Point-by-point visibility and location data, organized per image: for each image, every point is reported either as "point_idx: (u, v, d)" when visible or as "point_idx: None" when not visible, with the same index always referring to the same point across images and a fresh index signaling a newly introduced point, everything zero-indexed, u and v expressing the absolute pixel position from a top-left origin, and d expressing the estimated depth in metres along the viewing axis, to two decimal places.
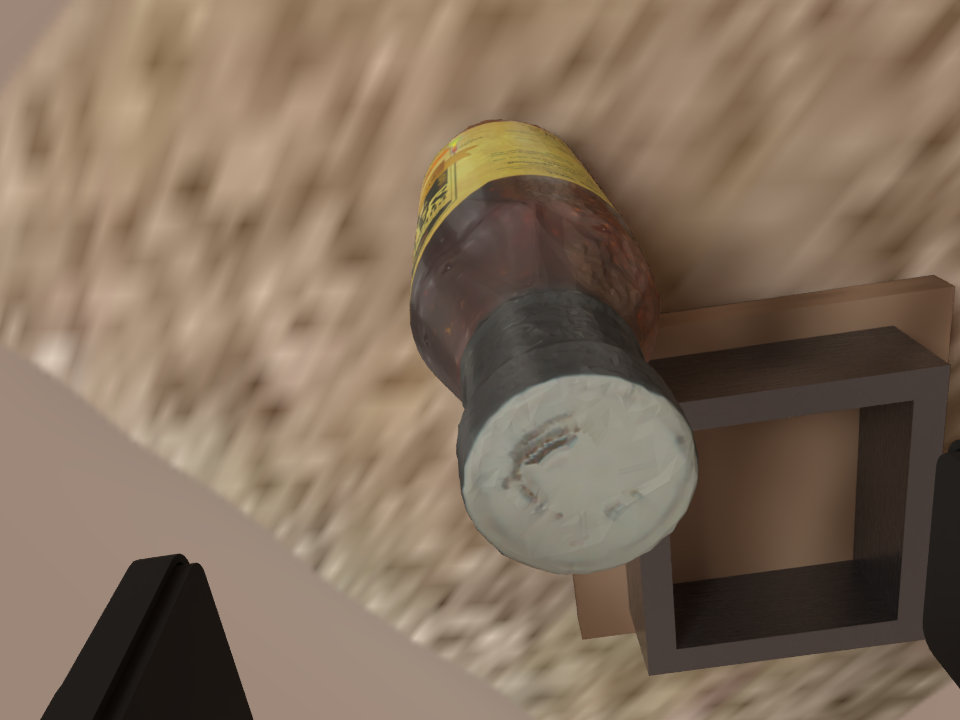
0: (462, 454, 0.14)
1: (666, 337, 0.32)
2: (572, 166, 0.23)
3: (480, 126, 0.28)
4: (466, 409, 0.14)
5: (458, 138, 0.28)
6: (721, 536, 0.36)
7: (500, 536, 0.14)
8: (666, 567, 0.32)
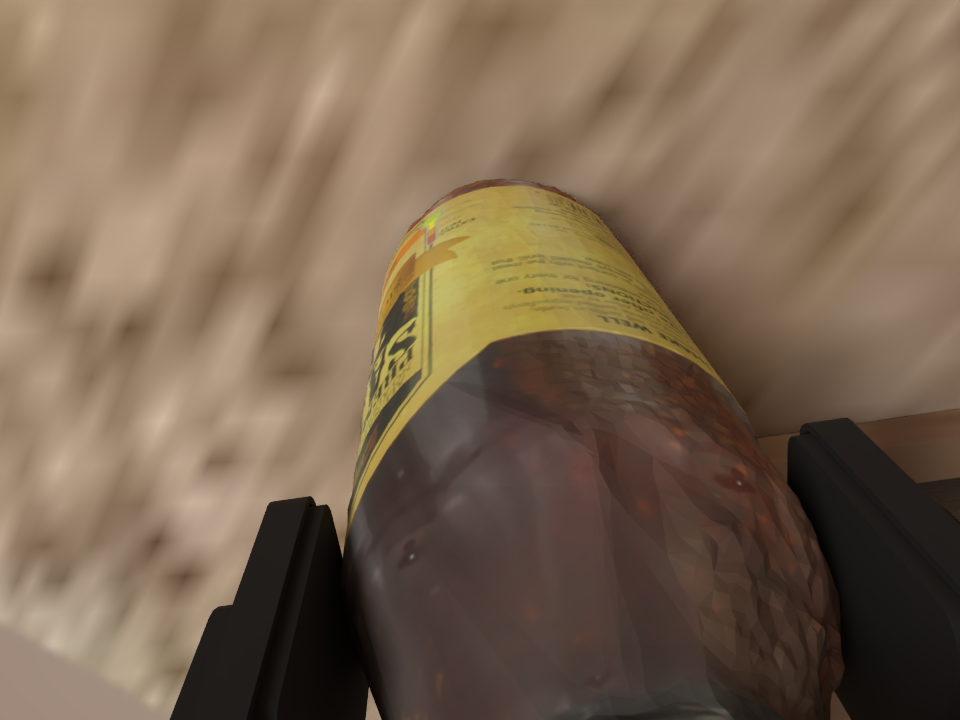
0: None
1: None
2: (631, 285, 0.14)
3: (471, 194, 0.18)
4: None
5: (438, 213, 0.18)
6: None
7: None
8: None
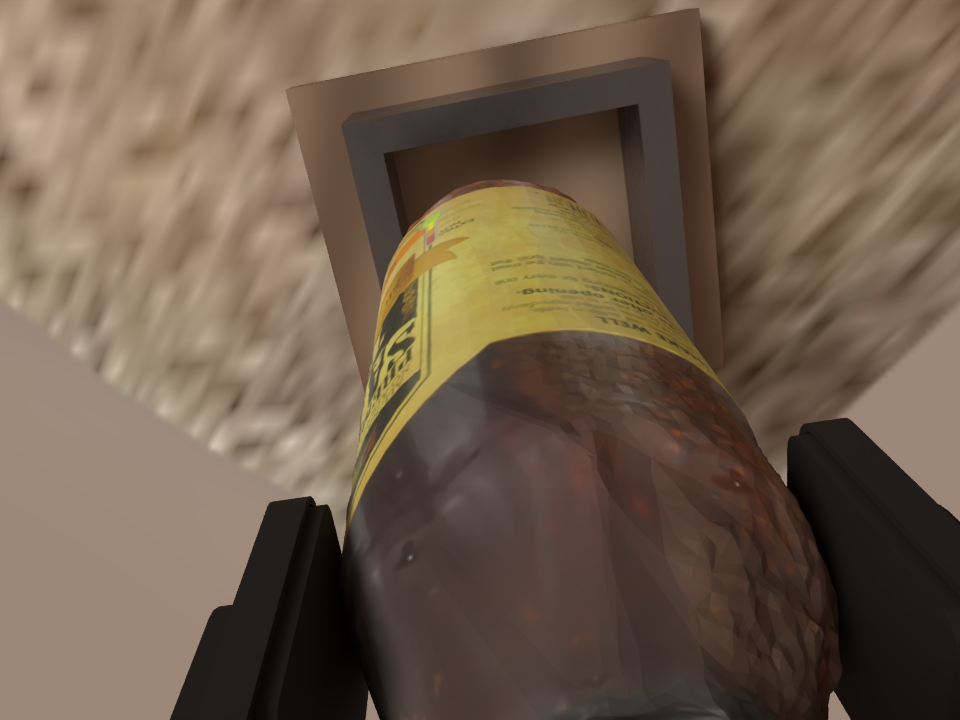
0: None
1: (407, 78, 0.31)
2: (630, 285, 0.14)
3: (471, 195, 0.18)
4: None
5: (437, 214, 0.18)
6: None
7: None
8: None
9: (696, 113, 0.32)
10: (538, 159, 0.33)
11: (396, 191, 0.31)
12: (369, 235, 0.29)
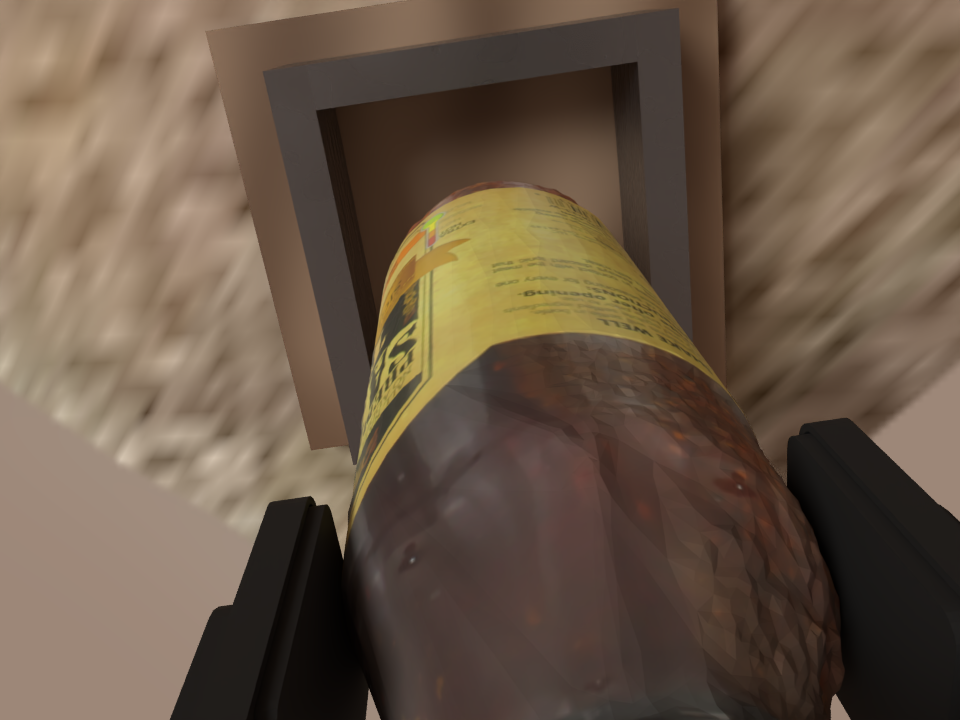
0: None
1: (356, 23, 0.25)
2: (631, 287, 0.14)
3: (472, 196, 0.18)
4: None
5: (438, 215, 0.18)
6: None
7: None
8: (350, 308, 0.25)
9: (707, 83, 0.27)
10: (514, 131, 0.27)
11: (336, 161, 0.25)
12: (297, 213, 0.24)
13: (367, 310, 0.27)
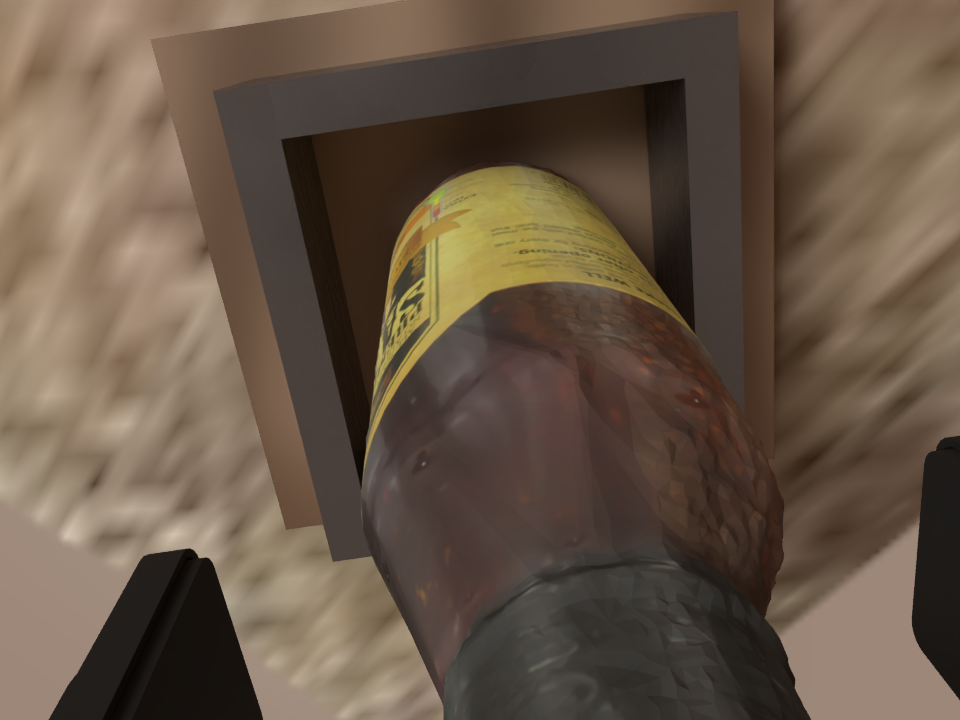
0: None
1: (335, 30, 0.21)
2: (615, 250, 0.15)
3: (473, 174, 0.20)
4: None
5: (442, 191, 0.20)
6: None
7: None
8: (327, 379, 0.20)
9: (759, 102, 0.22)
10: (526, 159, 0.22)
11: (310, 198, 0.20)
12: (260, 265, 0.19)
13: (349, 375, 0.22)
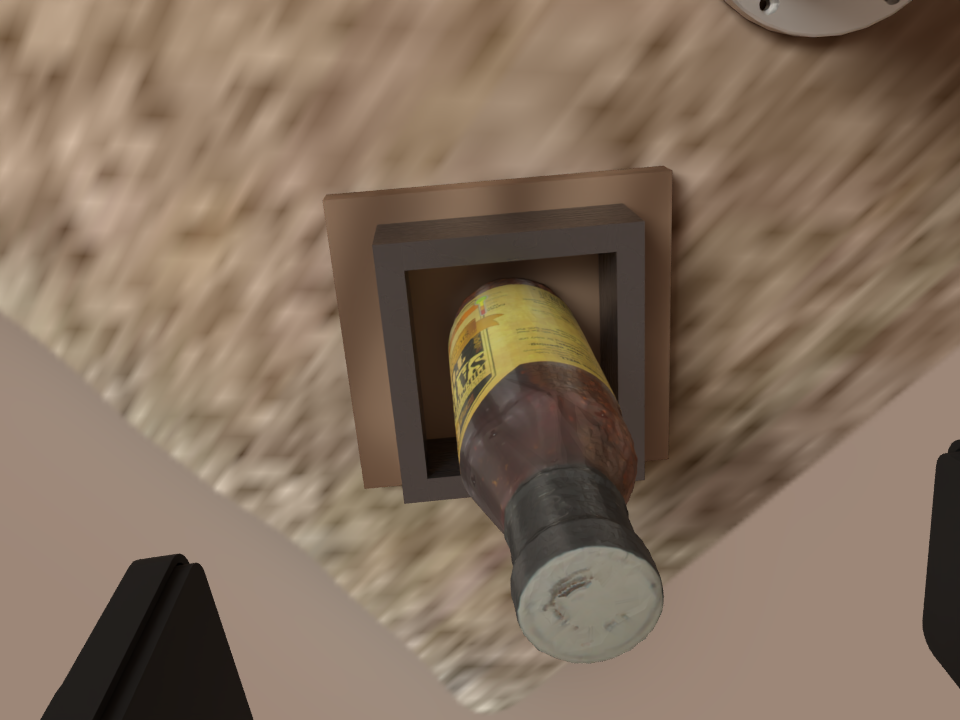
0: (518, 587, 0.22)
1: (426, 201, 0.37)
2: (575, 342, 0.32)
3: (501, 288, 0.36)
4: (520, 557, 0.22)
5: (484, 297, 0.36)
6: None
7: (538, 639, 0.22)
8: (413, 398, 0.36)
9: (662, 252, 0.39)
10: (529, 276, 0.39)
11: (409, 296, 0.37)
12: (384, 334, 0.35)
13: (420, 395, 0.38)
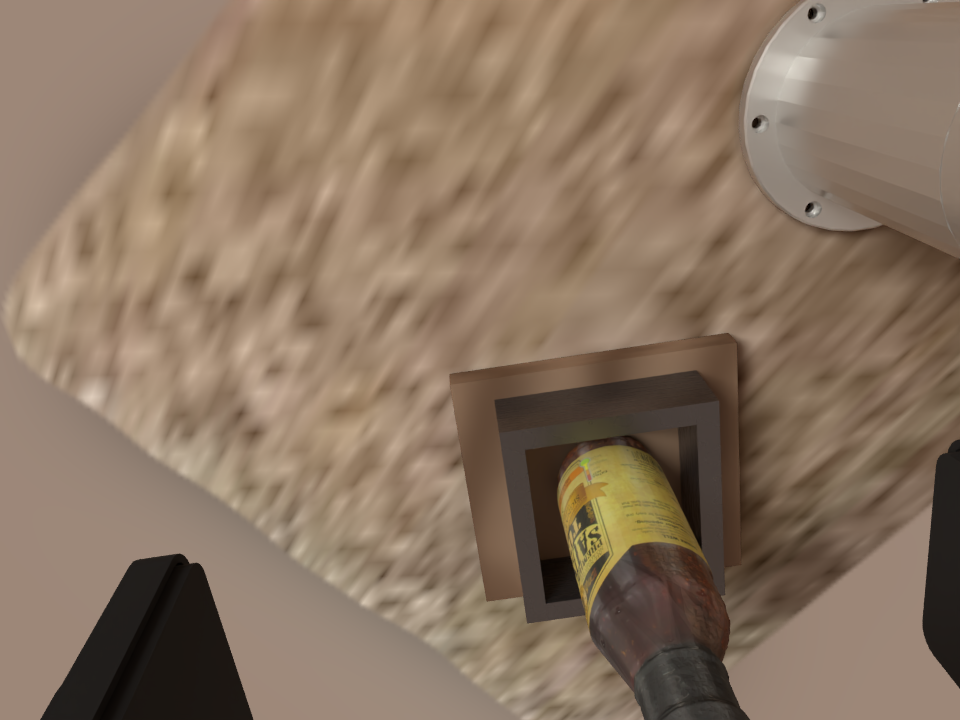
0: None
1: (534, 379, 0.45)
2: (670, 512, 0.40)
3: (600, 450, 0.44)
4: None
5: (587, 459, 0.44)
6: None
7: None
8: (533, 543, 0.45)
9: (731, 405, 0.46)
10: None
11: None
12: (509, 497, 0.43)
13: None
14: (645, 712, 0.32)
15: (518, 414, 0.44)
